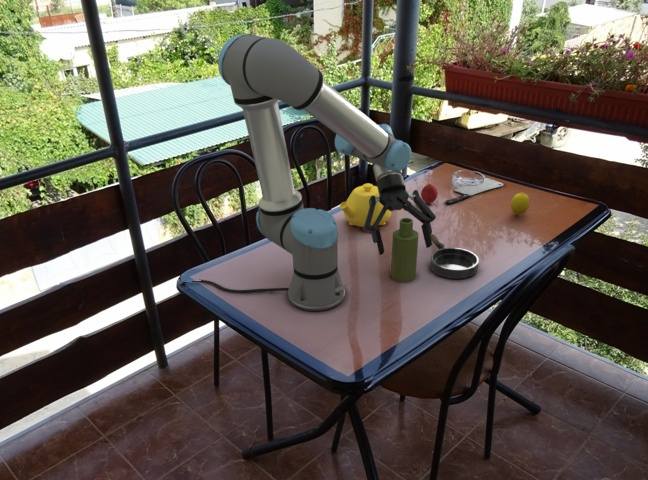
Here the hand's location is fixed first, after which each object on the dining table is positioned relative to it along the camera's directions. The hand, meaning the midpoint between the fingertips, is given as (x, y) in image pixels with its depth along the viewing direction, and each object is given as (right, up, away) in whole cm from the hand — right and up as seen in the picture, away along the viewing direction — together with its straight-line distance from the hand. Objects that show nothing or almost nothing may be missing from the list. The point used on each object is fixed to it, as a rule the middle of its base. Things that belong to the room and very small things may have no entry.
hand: (405, 249), depth 152 cm
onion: (+18, +20, +46) cm, 53 cm away
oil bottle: (0, -7, +5) cm, 9 cm away
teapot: (-7, +11, +34) cm, 36 cm away
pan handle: (+13, +3, +16) cm, 20 cm away
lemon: (+45, +14, +34) cm, 58 cm away
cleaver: (+34, +26, +53) cm, 68 cm away
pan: (+15, -5, +7) cm, 17 cm away
